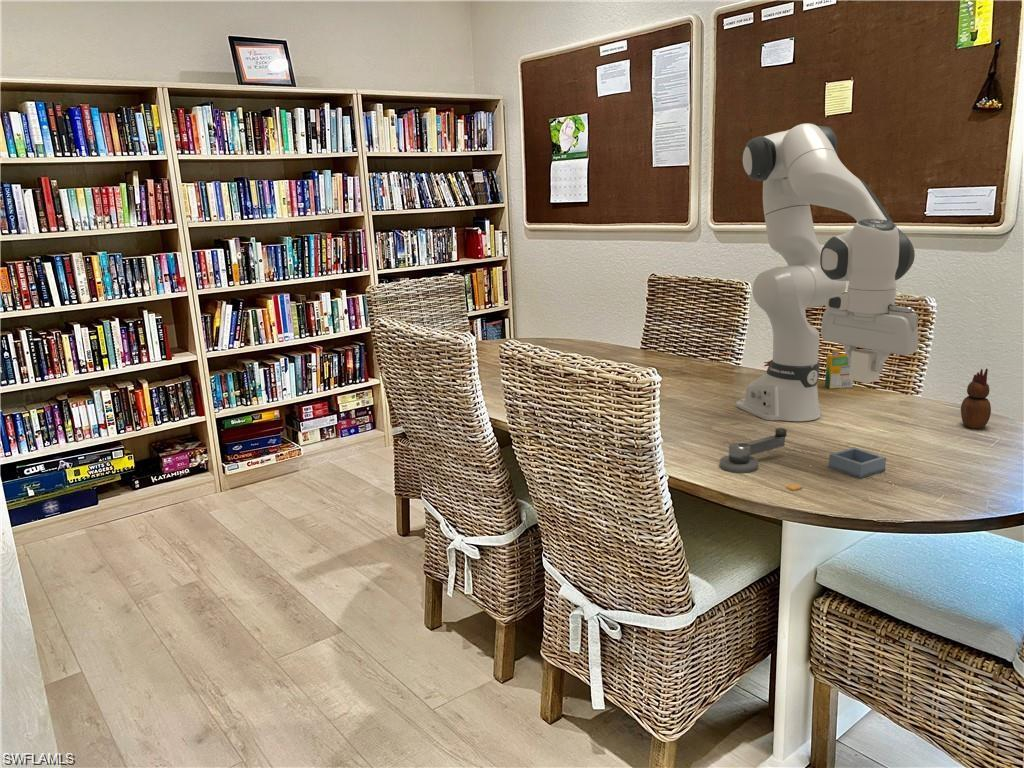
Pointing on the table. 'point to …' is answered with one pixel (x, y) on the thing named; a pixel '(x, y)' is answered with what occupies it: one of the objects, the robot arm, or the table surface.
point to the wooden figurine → (976, 402)
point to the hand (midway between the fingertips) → (864, 369)
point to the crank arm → (756, 446)
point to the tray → (857, 462)
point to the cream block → (863, 366)
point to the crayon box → (837, 371)
